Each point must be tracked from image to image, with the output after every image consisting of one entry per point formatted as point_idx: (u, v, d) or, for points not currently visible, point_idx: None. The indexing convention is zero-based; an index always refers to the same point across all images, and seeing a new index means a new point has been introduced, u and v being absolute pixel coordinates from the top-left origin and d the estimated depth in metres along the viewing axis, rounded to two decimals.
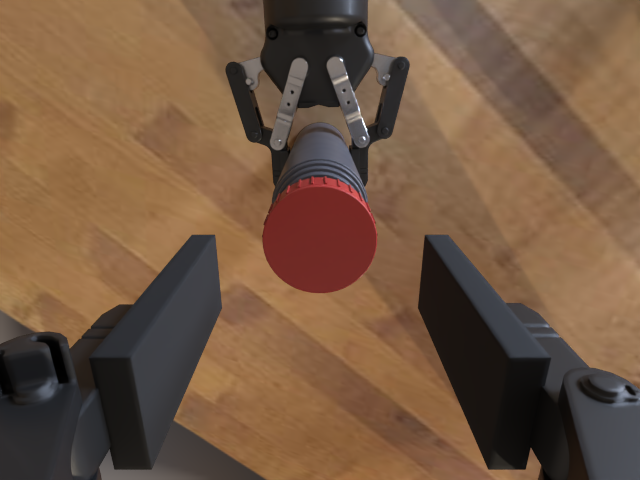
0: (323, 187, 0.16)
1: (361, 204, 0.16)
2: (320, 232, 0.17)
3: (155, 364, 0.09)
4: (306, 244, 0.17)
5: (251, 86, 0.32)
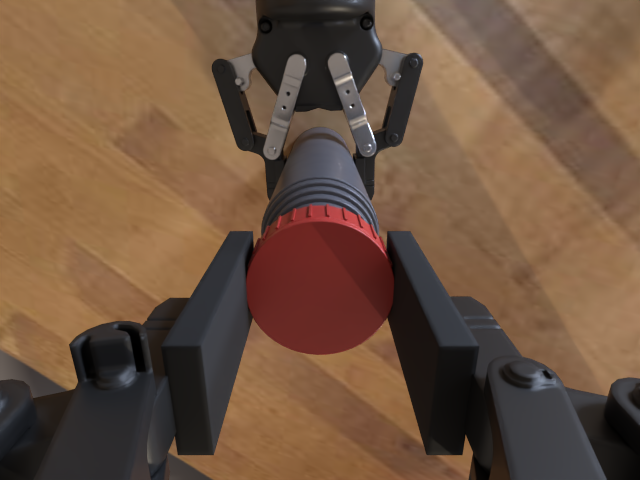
0: (325, 222, 0.12)
1: (375, 244, 0.12)
2: (321, 279, 0.13)
3: (215, 354, 0.09)
4: (302, 294, 0.13)
5: (241, 87, 0.28)
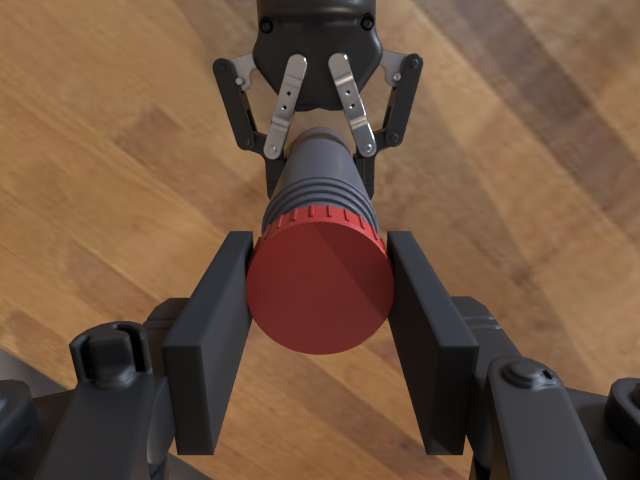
0: (255, 319, 0.13)
1: (248, 272, 0.13)
2: (307, 297, 0.13)
3: (215, 354, 0.09)
4: (330, 304, 0.13)
5: (242, 86, 0.28)
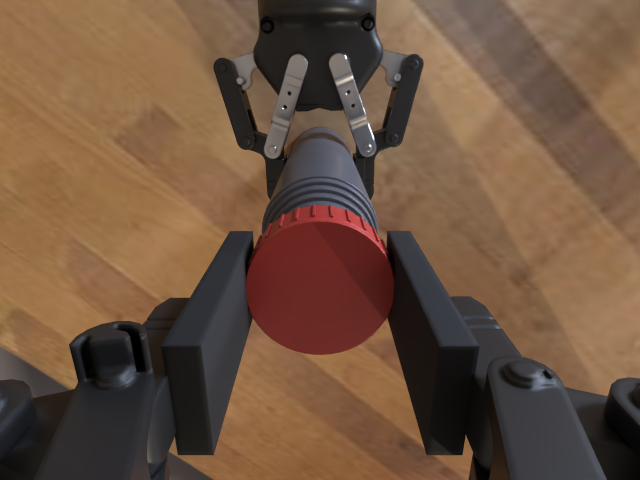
0: (377, 329, 0.13)
1: (333, 353, 0.14)
2: (331, 299, 0.13)
3: (215, 354, 0.09)
4: (327, 277, 0.13)
5: (243, 86, 0.28)
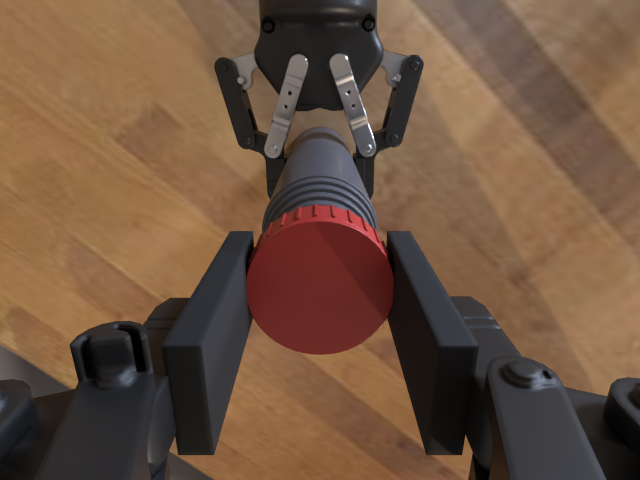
0: (330, 222, 0.12)
1: (378, 248, 0.12)
2: (322, 279, 0.13)
3: (215, 354, 0.09)
4: (302, 293, 0.13)
5: (244, 85, 0.28)
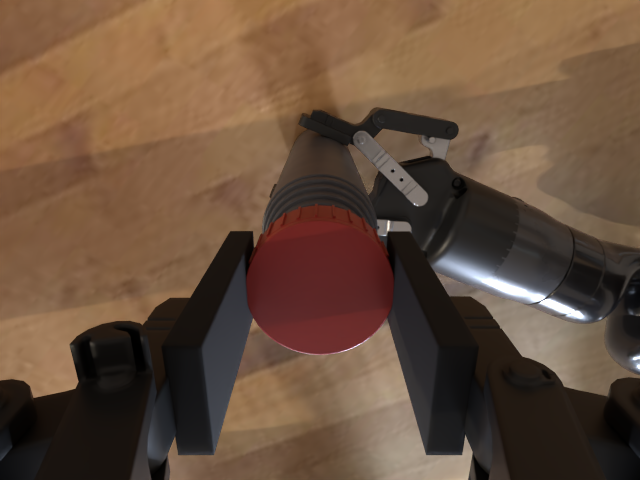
0: (331, 222, 0.12)
1: (379, 248, 0.12)
2: (322, 279, 0.13)
3: (216, 354, 0.09)
4: (302, 293, 0.13)
5: (424, 137, 0.29)
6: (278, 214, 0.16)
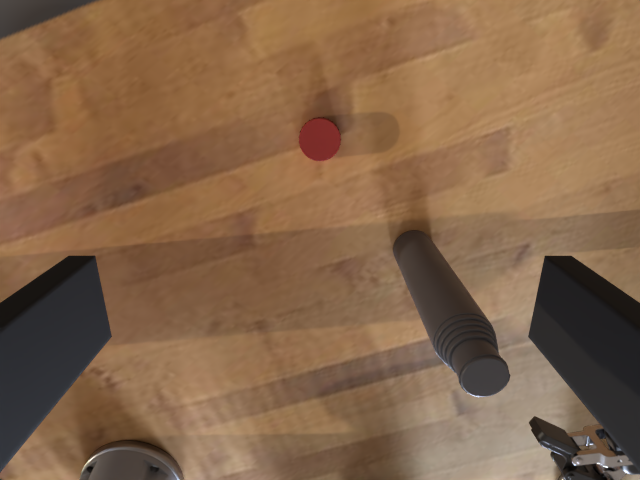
0: (322, 119, 0.46)
1: (335, 126, 0.46)
2: (320, 136, 0.46)
3: None
4: (314, 140, 0.46)
5: None
6: (454, 336, 0.32)
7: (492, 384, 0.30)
